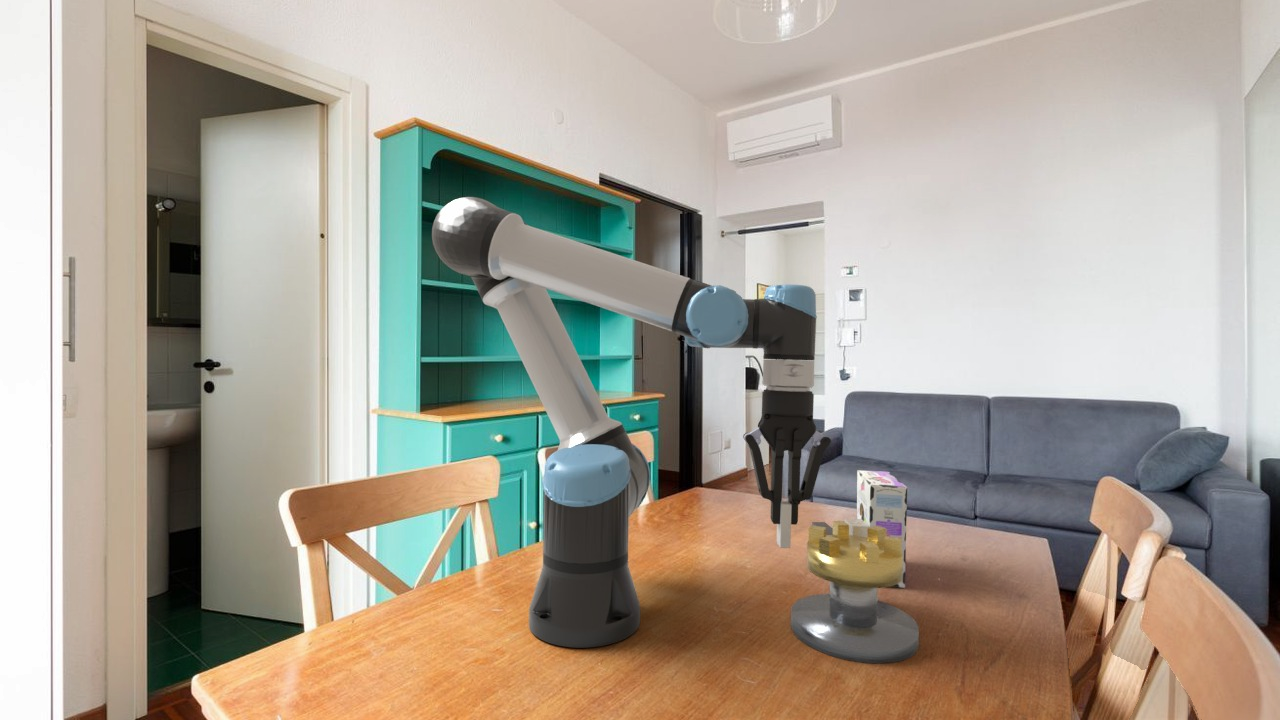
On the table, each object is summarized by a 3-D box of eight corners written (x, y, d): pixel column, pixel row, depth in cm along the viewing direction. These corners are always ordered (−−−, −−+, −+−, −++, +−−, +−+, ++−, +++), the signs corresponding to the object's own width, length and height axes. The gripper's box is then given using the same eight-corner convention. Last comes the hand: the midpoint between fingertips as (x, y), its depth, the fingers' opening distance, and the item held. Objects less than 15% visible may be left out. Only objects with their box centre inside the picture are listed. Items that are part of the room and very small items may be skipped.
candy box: (906, 589, 95) (908, 486, 95) (867, 586, 96) (869, 484, 96) (888, 560, 108) (890, 470, 108) (854, 557, 110) (856, 468, 109)
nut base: (807, 661, 72) (809, 562, 72) (774, 594, 92) (775, 517, 92) (941, 665, 71) (943, 565, 71) (879, 597, 91) (880, 519, 91)
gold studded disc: (780, 537, 94) (780, 505, 93) (855, 537, 94) (856, 506, 94) (824, 588, 73) (825, 547, 73) (920, 588, 74) (921, 547, 74)
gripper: (748, 389, 86) (743, 552, 86) (839, 391, 86) (834, 555, 86) (740, 386, 93) (736, 536, 94) (824, 388, 93) (819, 539, 93)
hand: (783, 545), depth 90 cm, fingers closed
